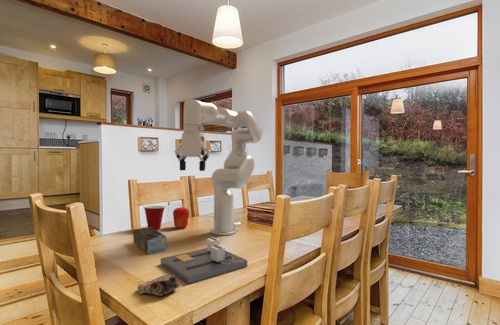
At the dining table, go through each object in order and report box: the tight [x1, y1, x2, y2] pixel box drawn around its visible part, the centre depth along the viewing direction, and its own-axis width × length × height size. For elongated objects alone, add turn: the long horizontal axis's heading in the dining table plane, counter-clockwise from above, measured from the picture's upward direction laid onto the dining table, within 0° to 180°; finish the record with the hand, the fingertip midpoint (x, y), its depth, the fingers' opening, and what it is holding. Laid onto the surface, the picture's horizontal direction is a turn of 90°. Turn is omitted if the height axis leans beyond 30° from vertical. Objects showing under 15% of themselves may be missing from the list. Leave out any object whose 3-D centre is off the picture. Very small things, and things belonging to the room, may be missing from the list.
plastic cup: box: [143, 205, 166, 231], centre depth 145 cm, size 11×11×12 cm
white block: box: [211, 244, 226, 262], centre depth 94 cm, size 3×4×4 cm
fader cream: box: [206, 236, 221, 251], centre depth 103 cm, size 3×4×4 cm
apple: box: [172, 206, 190, 230], centre depth 148 cm, size 9×8×12 cm
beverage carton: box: [132, 226, 168, 255], centre depth 115 cm, size 8×19×7 cm, turn 38°
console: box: [160, 247, 248, 285], centre depth 95 cm, size 22×20×2 cm
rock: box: [136, 274, 181, 297], centre depth 76 cm, size 9×6×10 cm
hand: (192, 170), depth 117 cm, fingers open, 9 cm apart
